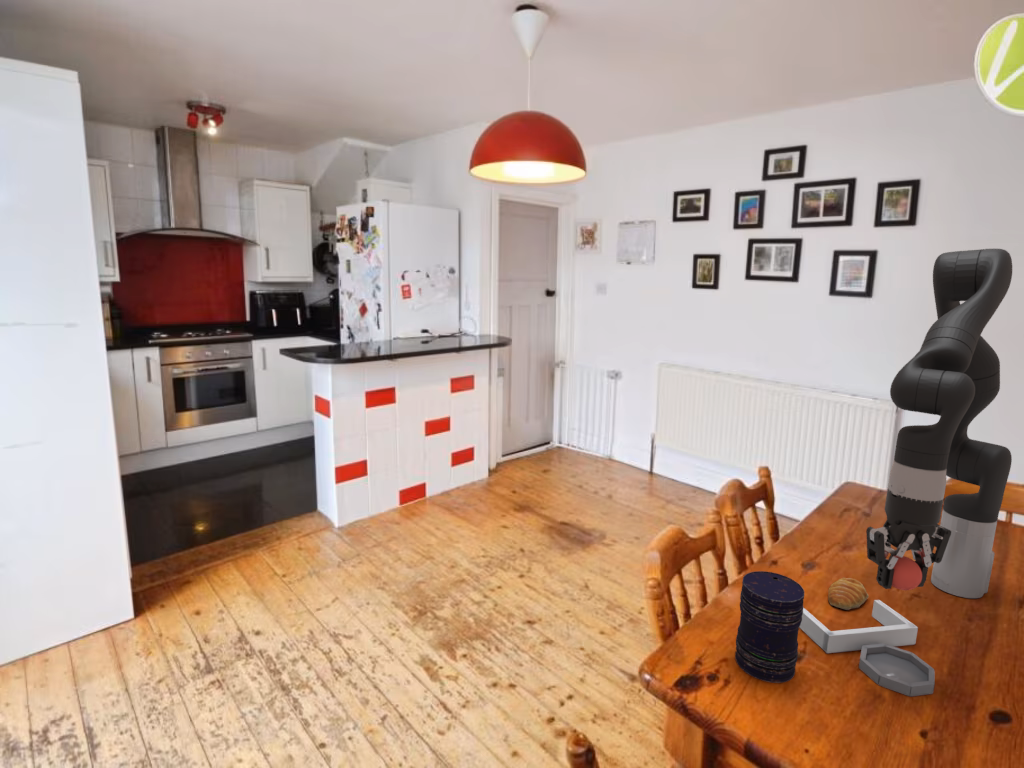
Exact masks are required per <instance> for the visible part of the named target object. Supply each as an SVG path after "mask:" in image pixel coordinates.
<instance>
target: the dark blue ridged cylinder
mask: <svg viewBox="0 0 1024 768" xmlns="http://www.w3.org/2000/svg"><path fill="white" fill-rule="evenodd" d="M741 584H742V586H741V591H740V597H739V598H740V601H739V611H740V618H739V626H738V627H737V635H736V637H735V653H734V655H735V657H734V659H735V662H736V664H737V665H738V667H739V668H740V669H741V670H742V671H744V672H745V673H746V674H748V675H749V676H751V677H753V678H755V679H757V680H760V681H763V682H766V683H773V684H774V683H775V684H776V683H777V684H781V683H787V682H789V681H791V680H792V679H793V678H794V677H795V674H796V665H797V661H798V654H799V652H798V650H799V641H798V636H799V629H800V628H799V626H800V624H801V621H802V614H803V608H804V599H805V590H804V588H803V586H802V585H801V584H800V583H799V582H797V581H795V580H794V579H792V578H790V577H788V576H786V575H783V574H781V573H776V572H771V571H762V570H759V571H758V570H757V571H751V572H748V573H746V574H744V575H743V578H742V582H741Z"/></svg>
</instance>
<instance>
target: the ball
mask: <svg viewBox="0 0 1024 768" xmlns="http://www.w3.org/2000/svg"><path fill="white" fill-rule="evenodd" d="M893 569H894V575H893V581H892V587H893V588H895V589H898V590H901V591H911V590H913V589H914V590H915V589H916V588H918V587H917V586H918V585H919V584H920V583H921V580H922V572H921V569H920V567H919V566H918V564H917V563H916V562H915V560H914V559H913V558H912V559H911V558H910V557H907V556H904V555H903V557H902V558H899V559H898V560H897V562H896V564H895V566H894V567H893Z"/></svg>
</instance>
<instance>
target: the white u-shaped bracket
mask: <svg viewBox="0 0 1024 768" xmlns="http://www.w3.org/2000/svg"><path fill="white" fill-rule="evenodd" d="M872 606H873V607H872V612H871V617H872V618H873V619H875V620H876V621H878V622H879V623H880V624H881V625H882V626H873V627H871V626H870V627H861V628H852V629H851V628H850V629H840V630H832V631H831V630H830V629H828V627H827V626H825V624H823V622H821V621H820V620H818V619H817V618H816V617H815V616H814V615H813V614H812V613H810V611H808V610H807V609H806V608H804V607H803V614H802V621H801V624H800V626H799V629H800V630H802V631H803V632H804V633H805V635H807V636H808V637H809V638H810V639H811V640H812V641H813V642H814V643H815V644H816V645H818V646H819V647H820V649H822V650H823V651H824V652H825V654H832V653H833V654H835V653H844V652H852V651H860V650H862V646H863V645H872V644H882V643H884V644H887V645H890V646H893V647H902V646H913V645H916V642H917V636H918V629H919V627H918V626H917V625H916V624H914V623H913V622H911V621H909V620H908V619H907V618H906V617H904V616H903V615H902V614H900V613H899V612H897V611H896V610H894V609H893V608H891V607H890V606H889V605H887V604H886V603H884V602H883V601H882V600H880V599H874V600H873V605H872Z"/></svg>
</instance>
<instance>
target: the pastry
mask: <svg viewBox="0 0 1024 768" xmlns="http://www.w3.org/2000/svg"><path fill="white" fill-rule="evenodd" d="M827 594H828V595H827V596H828V602H829V605H830V606H834V607H836V608H840V609H842V610H844V611H845V610H846V611H849V610H853V609H859V608H860V606H861V605H863V604H864V603H865V602H866V601H867V599H869V598H870V597H869V594H868V592H867V589H866V588H865V586H864V584H862V583H861V581H860V580H858V579H855V578H854V577H853V578H852V577H847V578H846V577H842V578H838V580H836V581H834V582H832V583H831V584H830V586H829V588H828V592H827Z"/></svg>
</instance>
